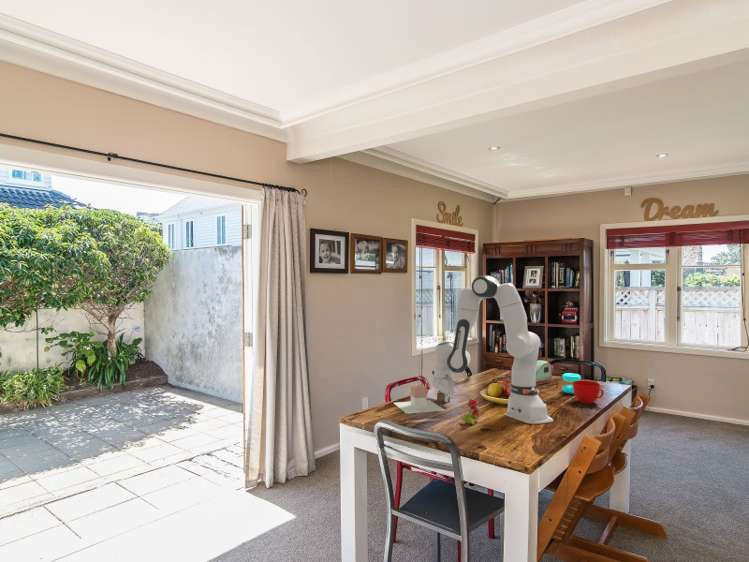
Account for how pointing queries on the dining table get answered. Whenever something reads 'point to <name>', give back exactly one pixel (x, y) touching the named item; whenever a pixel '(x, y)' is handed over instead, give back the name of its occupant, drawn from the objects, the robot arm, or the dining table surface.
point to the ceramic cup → (587, 391)
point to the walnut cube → (441, 397)
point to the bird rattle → (472, 412)
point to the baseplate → (409, 409)
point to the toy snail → (543, 372)
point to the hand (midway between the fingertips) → (443, 400)
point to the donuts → (570, 378)
